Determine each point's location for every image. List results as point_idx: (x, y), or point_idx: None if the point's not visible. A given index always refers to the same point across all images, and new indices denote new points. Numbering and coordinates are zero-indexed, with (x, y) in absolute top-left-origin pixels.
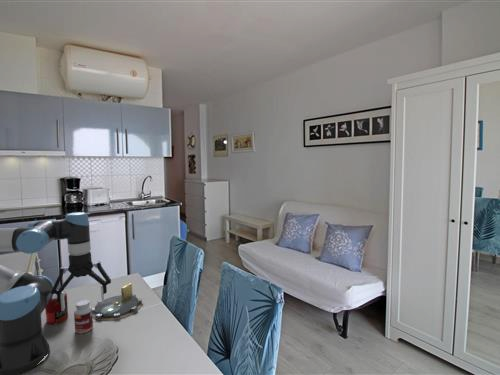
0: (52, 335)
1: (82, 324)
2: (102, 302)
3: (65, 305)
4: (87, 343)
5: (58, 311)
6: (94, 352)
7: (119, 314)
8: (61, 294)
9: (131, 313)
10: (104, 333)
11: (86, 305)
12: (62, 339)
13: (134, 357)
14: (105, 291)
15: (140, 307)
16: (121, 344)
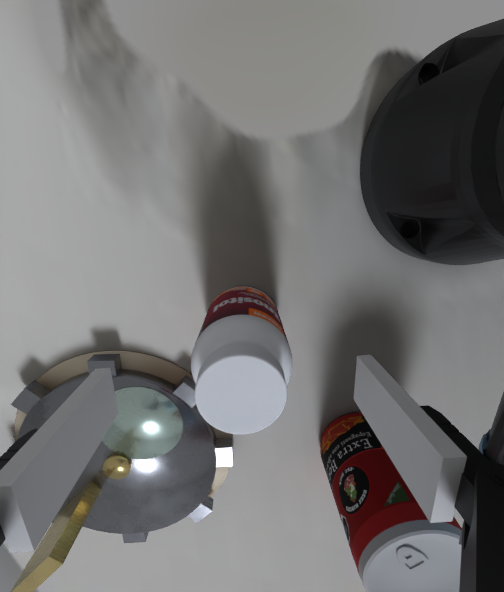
0: (362, 323)
1: (243, 297)
2: (103, 370)
3: (344, 485)
4: (212, 186)
5: (368, 452)
6: (167, 81)
7: (88, 361)
8: (454, 457)
9: (48, 374)
10: (148, 245)
11: (212, 359)
12: (321, 272)
13: None
14: (21, 444)
15: (17, 415)
16: (44, 95)
